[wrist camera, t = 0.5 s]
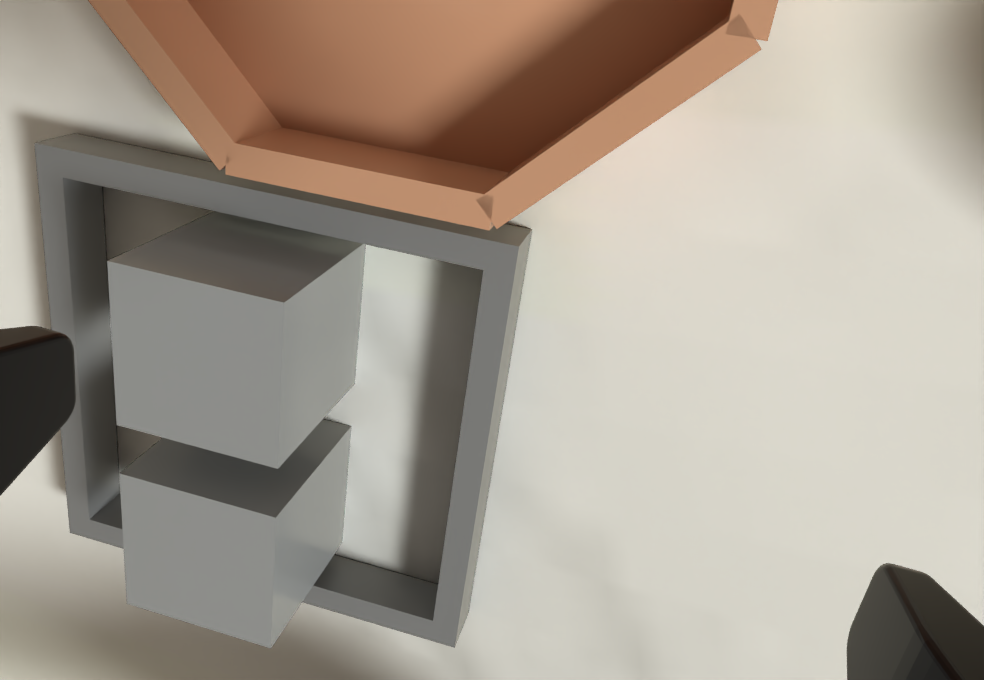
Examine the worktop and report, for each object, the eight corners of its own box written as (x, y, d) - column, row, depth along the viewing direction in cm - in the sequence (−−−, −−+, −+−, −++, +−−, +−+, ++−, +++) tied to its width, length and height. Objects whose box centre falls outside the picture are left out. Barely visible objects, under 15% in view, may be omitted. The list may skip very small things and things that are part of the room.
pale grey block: (342, 541, 28) (270, 648, 23) (219, 506, 29) (126, 603, 24) (352, 425, 26) (275, 517, 22) (219, 391, 27) (119, 473, 22)
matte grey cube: (355, 382, 25) (277, 468, 21) (219, 348, 26) (117, 424, 22) (366, 241, 23) (283, 302, 19) (220, 208, 24) (107, 260, 20)
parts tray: (468, 613, 28) (454, 647, 26) (100, 506, 30) (69, 532, 28) (532, 229, 22) (519, 246, 21) (74, 133, 24) (34, 142, 23)
